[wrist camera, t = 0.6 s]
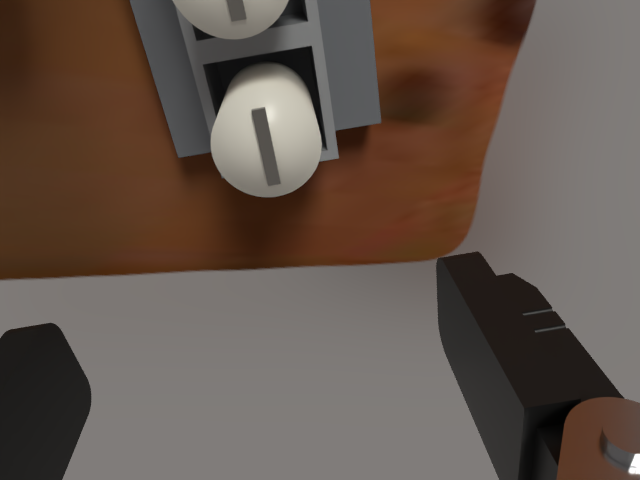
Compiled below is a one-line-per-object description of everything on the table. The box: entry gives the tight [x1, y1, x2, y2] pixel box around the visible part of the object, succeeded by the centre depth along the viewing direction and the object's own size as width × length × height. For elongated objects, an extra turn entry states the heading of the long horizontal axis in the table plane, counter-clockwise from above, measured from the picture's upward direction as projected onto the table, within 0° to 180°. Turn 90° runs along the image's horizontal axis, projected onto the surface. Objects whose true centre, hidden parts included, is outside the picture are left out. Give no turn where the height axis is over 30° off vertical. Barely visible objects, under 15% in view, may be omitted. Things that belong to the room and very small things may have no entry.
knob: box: [211, 61, 322, 197], centre depth 21 cm, size 4×4×6 cm
